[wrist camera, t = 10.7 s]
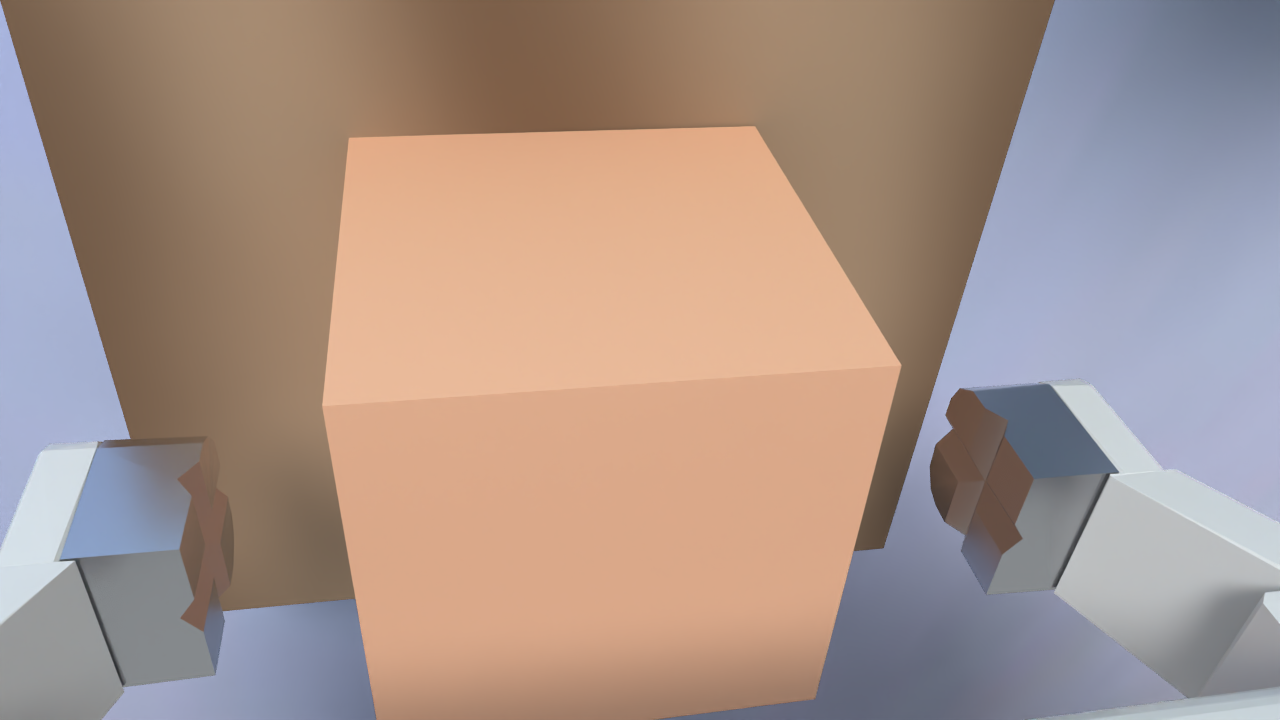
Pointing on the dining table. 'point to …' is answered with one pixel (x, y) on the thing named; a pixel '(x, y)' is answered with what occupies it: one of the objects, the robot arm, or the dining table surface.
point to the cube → (594, 423)
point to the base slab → (474, 104)
